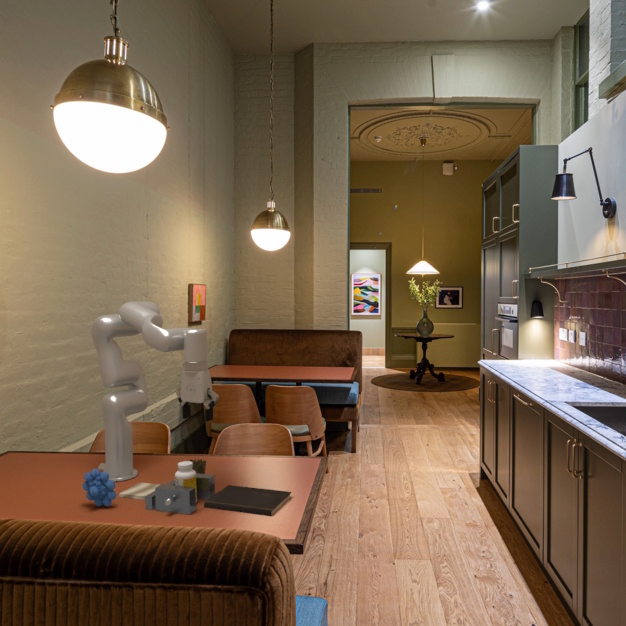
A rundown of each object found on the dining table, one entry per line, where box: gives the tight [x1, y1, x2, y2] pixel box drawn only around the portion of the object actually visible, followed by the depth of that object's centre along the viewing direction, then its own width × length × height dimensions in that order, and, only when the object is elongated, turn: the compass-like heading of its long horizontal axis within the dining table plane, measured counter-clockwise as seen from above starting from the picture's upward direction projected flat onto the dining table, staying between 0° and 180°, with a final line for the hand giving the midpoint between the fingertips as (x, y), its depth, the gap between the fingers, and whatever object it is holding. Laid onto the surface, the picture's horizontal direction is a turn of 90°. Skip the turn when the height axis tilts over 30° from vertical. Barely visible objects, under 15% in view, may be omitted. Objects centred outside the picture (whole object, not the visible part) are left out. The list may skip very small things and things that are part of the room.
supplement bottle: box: [174, 460, 198, 503], centre depth 170 cm, size 7×7×13 cm
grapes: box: [82, 468, 117, 508], centre depth 167 cm, size 12×7×12 cm, turn 78°
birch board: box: [118, 481, 160, 501], centre depth 180 cm, size 11×11×1 cm
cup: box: [188, 458, 207, 474], centre depth 187 cm, size 8×7×8 cm
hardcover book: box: [203, 484, 292, 517], centre depth 170 cm, size 16×23×2 cm
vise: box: [144, 473, 216, 515], centre depth 169 cm, size 16×19×7 cm
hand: (197, 419), depth 173 cm, fingers open, 9 cm apart
